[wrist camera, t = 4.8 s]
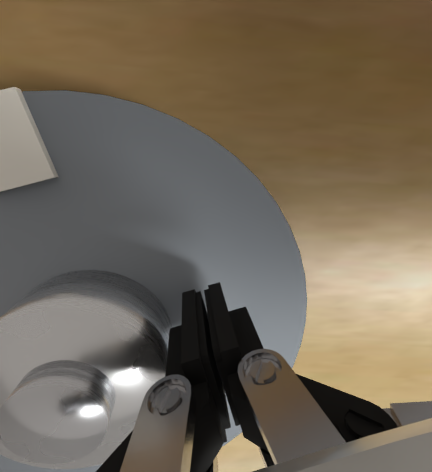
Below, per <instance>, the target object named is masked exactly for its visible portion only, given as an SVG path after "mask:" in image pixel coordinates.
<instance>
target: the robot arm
mask: <svg viewBox="0 0 432 472" xmlns="http://www.w3.org/2000/svg"><path fill="white" fill-rule="evenodd" d="M204 294H205V301H206V307H207V311H206V308H205V304H204V301H203V298H202V294H201V291H199V292H196V291H195V289H193V290H190V291H186V292H183V293H182V324H181V325H179V326H176V327H172V328H170V331H169V341H168V352H167V363H166V374H165V377H163V378H162V379H160V380H158V381H157V382H156V383H155V384H153V385H152V386H151V387H150V389H149V390H148V391H147V392H146V395H145V397H144V399H143V401H142V405H141V408H140V411H139V414H138V417H137V420H136V423H135V426H134V429H133V431H132V432H131V433H130V434H129V435H128V436H127V437H126V438H125V439H124V441H123V442H122V443H121V444H120V445H119V446H118V447H117V448H116V450H115V451H114V452H113V453H112V454H111V455H110V456H109V457H108V458H107V460H106V461H105V462H104V463H103V464H102V465H101V466H100V467H99V469H98V470H97V471H96V472H218V460H217V456H216V455H217V454H218V452H219V450H220V449H221V447H222V445H223V444H224V442H227V437H226V430H225V429H228V428H231V424H230V418H229V412H228V407H227V401H226V397H227V400H228V403H229V406H230V409H231V413H232V416H233V419H234V422H235V425H236V426H238V425H240V426H241V429H242V432H243V436H244V437H245V438H246V439H248V440H249V441H251V442H253V443H254V444H256V445H257V446H258V447H259V451H260V454H261V456H262V459H263V461H264V464H265V466H266V468H263V469H260V470H257V471H253V472H432V401H427V402H409V403H391V404H390V408H386V409H381V408H380V407H379V406H377V405H375V404H373V403H371V402H369V401H366V400H364V399H361V398H358V397H356V396H353V395H350V394H348V393H345V392H342V391H340V390H337V389H335V388H332V387H329V386H327V385H324V384H321V383H319V382H316V381H313V380H311V379H308V378H305V377H303V376H300V375H298V374H295V372H294V371H293V370H292V368H291V367H290V366H289V364H288V363H287V361H286V360H285V359H284V358H283V357H282V356H281V355H280V354H279V353H277V352H275V351H274V350H269V349H264V348H263V346H262V343H261V341H260V339H259V336H258V334H257V331H256V329H255V327H254V324H253V322H252V320H251V317H250V315H249V312H248V310H247V308H246V307H242V308H239V309H235V310H232V311H228V308H227V305H226V301H225V298H224V294H223V291H222V287H221V284H220V282H218V283H215V284H211V285H208V289H206V290H204ZM225 393H226V395H225Z"/></svg>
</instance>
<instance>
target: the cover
mask: <svg viewBox="0 0 432 472" xmlns="http://www.w3.org/2000/svg"><path fill="white" fill-rule="evenodd" d="M170 328H172V323H171V320H170V317H169V315H168V313H167V311H166V309H165V307H164V306H163V304H162V303H161V301H160V300H159V299H158V298H157V297H156V296H155V295H154V294H153V293H152V292H151V291H150V290H148V289H147V288H146V287H144V286H143V285H141V284H140V283H138V282H136V281H134V280H132V279H130V278H128V277H125V276H123V275H120V274H117V273H112V272H108V271H100V270H80V271H72V272H68V273H64V274H60V275H58V276H55V277H53V278H50V279H48V280H47V281H45V282H43V283H41V284H40V285H38V286H37V287H36V288H34V289H33V290H32V291H31V292H29V293H28V294H27V295H26V296H25V297H23V298H22V299H21V300H20V301H19V302H18V303H16V304H15V305H14V306H13V307H12V308H10V309H9V310H8V311H7V312H6V313H4V314H3V315H2V316H1V317H0V455H2V456H4V457H6V458H8V459H11V460H14V461H17V462H19V463H23V464H27V465H31V466H35V467H41V468H49V469H78V468H86V467H92V466H97V465H100V464H103V463H104V462H105V461H106V460H107V458H108V457H109V456H110V455H111V454H112V453H113V452H114V451H115V450H116V448H117V447H118V446H119V445H120V444H121V443H122V442H123V441H124V439H125V438H126V437H127V436H128V435H129V434H130V433H131V432H132V431H133V429H134V426H135V423H136V420H137V417H138V414H139V411H140V408H141V405H142V401H143V399H144V397H145V395H146V392H147V391H148V390H149V389H150V387H151V386H152V385H153V384H155V383H156V382H157V381H158V380H160V379H162V378H163V377H165V374H166V363H167V352H168V341H169V331H170Z"/></svg>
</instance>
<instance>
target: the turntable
mask: <svg viewBox="0 0 432 472" xmlns="http://www.w3.org/2000/svg"><path fill="white" fill-rule="evenodd" d="M80 270H100V271H108V272H112V273H117V274H120V275H123V276H125V277H128V278H130V279H132V280H134V281H136V282H138V283H140V284H141V285H143V286H144V287H146V288H147V289H148V290H150V291H151V292H152V293H153V294H154V295H155V296H156V297H157V298H158V299H159V300H160V301H161V303H162V304H163V306H164V307H165V309H166V311H167V313H168V315H169V317H170V320H171V323H172V327H176V326H179V325H181V324H182V293H183V292H186V291H190V290H193V289H195V291H196V292H199V291H201V294H202V298H203V301H204V304H205V308H206V311H207V307H206V301H205V294H204V290H206V289H208V285H211V284H215V283H218V282H220V284H221V287H222V291H223V294H224V298H225V301H226V305H227V308H228V311H232V310H235V309H239V308H242V307H246V308H247V310H248V312H249V315H250V317H251V320H252V322H253V324H254V327H255V329H256V331H257V334H258V336H259V339H260V341H261V343H262V346H263V348H264V349H269V350H274V351H275V352H277V353H279V354H280V355H281V356H282V357H283V358H284V359H285V360H286V361H287V363H288V364H289V366H290V367H291V368H292V367H293V365H294V362H295V359H296V357H297V354H298V351H299V348H300V345H301V342H302V337H303V332H304V327H305V322H306V307H307V293H306V281H305V273H304V269H303V264H302V260H301V256H300V251H299V249H298V246H297V244H296V241H295V238H294V236H293V233H292V231H291V228H290V226H289V224H288V222H287V221H286V219H285V217H284V215H283V213H282V212H281V210H280V208H279V206H278V205H277V203H276V201H275V200H274V199H273V197H272V196H271V195H270V194H269V192H268V191H267V190H266V188H265V187H264V186H263V184H262V183H261V182H260V180H259V179H258V178H257V177H256V176H255V175H254V174H253V173H252V172H251V171H250V170H249V169H248V168H247V167H246V166H245V165H244V164H243V163H242V162H241V161H240V160H239V159H238V158H237V157H236V156H234V155H233V154H232V153H230V152H229V151H228V150H226V149H225V148H224V147H222V146H221V145H220V144H218V143H217V142H216V141H215V140H213V139H212V138H211V137H209V136H208V135H206V134H204V133H202V132H201V131H199V130H197V129H195V128H193V127H192V126H190V125H188V124H186V123H185V122H183V121H181V120H179V119H177V118H175V117H172V116H170V115H167V114H165V113H162V112H160V111H157V110H155V109H152V108H150V107H147V106H145V105H142V104H138V103H135V102H131V101H127V100H123V99H119V98H115V97H111V96H107V95H101V94H92V93H84V92H75V91H66V90H58V91H23V92H21V89H19V88H17V87H12V88H7V89H3V90H0V317H1V316H2V315H3V314H4V313H6V312H7V311H8V310H9V309H10V308H12V307H13V306H14V305H15V304H16V303H18V302H19V301H20V300H21V299H22V298H23V297H25V296H26V295H27V294H28V293H29V292H31V291H32V290H33V289H34V288H36V287H37V286H38V285H40V284H41V283H43V282H45V281H47V280H48V279H50V278H53V277H55V276H58V275H60V274H64V273H68V272H72V271H80ZM225 395H226V393H225ZM226 401H227V407H228V412H229V418H230V424H231V428H228V429H225V430H226V437H227V442H224V444H223V445H222V446H224V445H225V444H227V443H228V442H229V441H231V440H232V439H233V438H235V437H236V436H237V435H239V434H240V433H241V432H242V429H241V426H240V425H238V426H236V425H235V422H234V419H233V416H232V413H231V409H230V406H229V403H228V400H227V397H226ZM101 465H102V464H100V465H97V466H92V467H86V468H78V469H49V468H41V467H35V466H31V465H27V464H23V463H19V462H17V461H14V460H11V459H8V458H6V457H4V456H2V455H0V472H96V471H97V470H98V469H99V467H100V466H101Z"/></svg>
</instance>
